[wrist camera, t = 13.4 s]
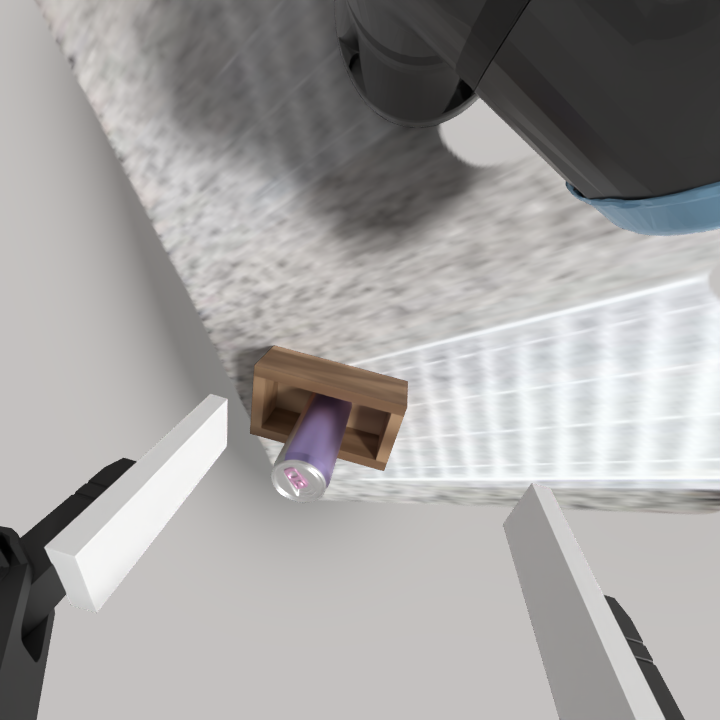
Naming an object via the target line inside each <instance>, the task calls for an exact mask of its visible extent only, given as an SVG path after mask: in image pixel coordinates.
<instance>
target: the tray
mask: <svg viewBox="0 0 720 720" xmlns="http://www.w3.org/2000/svg"><path fill="white" fill-rule="evenodd" d="M312 392H316V393H319V394H323V395H326V396H330V397H334V398H337V399H341V400H345V401H348V402H352V409H351V412H350V416H349V419H348V422H347V426H346V429H345V432H344V436H343V439H342V443H341V446H340V449H339V453H338V456H337V458H339V459H343V460H346V461H350V462H353V463H357V464H360V465H364V466H368V467H371V468H375V469H378V470H382V471H384V470H385V467H386V464H387V461H388V458H389V456H390V453H391V450H392V447H393V445H394V442H395V439H396V436H397V434H398V431H399V428H400V425H401V423H402V420H403V417H404V414H405V411H406V409H407V392H408V381H404V380H400V379H397V378H393V377H389V376H386V375H382V374H378V373H374V372H371V371H367V370H363V369H360V368H356V367H352V366H348V365H345V364H341V363H337V362H334V361H330V360H326V359H322V358H319V357H315V356H311V355H308V354H304V353H300V352H296V351H293V350H289V349H285V348H282V347H278V346H273V347H272V348H271V349H270V350H269V351H268V352H267V353H266V354H265V355H264V356H263V357H262V358H261V359H260V360H259V361H258V362H257V363H256V364H255V365H254V379H253V395H252V410H251V426H250V434H254V435H257V436H261V437H264V438H268V439H271V440H275V441H278V442H282V443H286V441H287V439H288V437H289V435H290V433H291V431H292V429H293V428H294V426H295V424H296V422H297V420H298V418H299V416H300V415H301V413H302V411H303V409H304V407H305V405H306V403H307V402H308V400H309V398H310V396H311V394H312Z"/></svg>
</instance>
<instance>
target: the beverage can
mask: <svg viewBox="0 0 720 720" xmlns="http://www.w3.org/2000/svg"><path fill="white" fill-rule="evenodd" d="M351 409H352V402H348V401H345V400H341V399H337V398H334V397H330V396H326V395H323V394H319V393H316V392H312V394H311V396H310V398H309V400H308V402H307V403H306V405H305V407H304V409H303V411H302V413H301V415H300V416H299V418H298V420H297V422H296V424H295V426H294V428H293V429H292V431H291V433H290V435H289V437H288V439H287V441H286V443H285V444H284V446H283V448H282V450H281V452H280V454H279V456H278V457H277V459H276V461H275V463H274V468H273V471H272V474H271V480H272V484H273V486H274V487H275V489H276V490H277V491H278V492H279V493H280V494H281V495H283V496H284V497H286V498H288V499H290V500H292V501H295V502H300V503H309V502H314V501H316V500H318V499H320V498H321V497H322V496H323V494H324V493H325V490H326V488H327V487H328V485H329V483H330V480H331V476H332V473H333V469H334V466H335V463H336V459H337V456H338V453H339V449H340V446H341V443H342V439H343V436H344V432H345V429H346V426H347V422H348V419H349V416H350V412H351Z"/></svg>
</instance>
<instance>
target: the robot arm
mask: <svg viewBox="0 0 720 720" xmlns="http://www.w3.org/2000/svg"><path fill="white" fill-rule="evenodd" d="M334 11H335V24H336V33H337V39H338V44H339V48H340V52H341V55H342V59H343V61H344V64H345V67H346V69H347V71H348V74H349V76H350V78H351V80H352V82H353V84H354V86H355V88H356V90H357V91H358V93H359V94H360V96H361V97H362V99H363V100H364V101H365V102H366V104H367V105H368V106H369V107H370V108H371V109H372V110H374V111H375V112H376V113H377V114H378V115H380V116H381V117H383V118H384V119H386V120H388V121H390V122H392V123H395V124H398V125H401V126H406V127H428V126H433V125H437V124H440V123H443V122H445V121H448V120H450V119H452V118H454V117H455V116H457V115H459V114H460V113H462V112H463V111H464V110H466V109H467V108H468V107H470V106H471V105H472V104H473V103H474V102H475V101H476V100H477V99H478V98H481V99H482V100H483V101H484V102H485V103H486V104H487V105H488V106H489V107H490V108H491V109H492V110H493V111H494V112H495V113H496V114H497V115H498V116H499V117H500V118H501V119H503V120H504V121H505V122H506V123H507V124H508V125H509V126H510V127H511V128H512V129H513V130H514V131H515V132H516V133H517V134H518V135H519V136H520V137H521V138H522V139H523V140H524V141H525V142H526V143H528V145H529V146H530V147H531V148H533V149H534V150H535V151H536V152H537V153H538V154H539V155H540V156H541V157H542V158H543V159H544V160H545V161H546V162H547V163H548V164H549V165H550V166H551V167H552V168H553V169H554V170H555V171H556V172H557V173H558V174H559V175H560V176H561V177H562V178H563V179H565V180H566V187H567V188H568V190H569V191H570V192H571V193H572V194H573V195H574V196H575V197H576V198H577V199H579V200H581V201H584V202H586V203H588V204H590V205H592V206H594V207H595V208H596V209H597V210H598V211H599V212H600V213H602V214H603V215H604V216H605V217H606V218H607V219H609V220H610V221H611V222H612V223H613V224H615V225H616V226H618V227H620V228H622V229H627V230H629V231H632V232H635V233H638V234H645V235H656V236H670V235H684V234H692V233H699V232H705V231H710V230H715V229H719V228H720V0H334ZM227 400H228V399H227V398H223V397H219V396H216V395H212V394H210V395H209V396H208V397H207V398H206V399H205V400H203V401H202V402H201V403H200V404H199V405H198V406H197V407H196V408H195V409H194V410H193V411H192V412H190V413H189V414H188V415H187V416H186V417H185V418H184V419H183V420H182V421H181V422H180V423H178V425H176V426H175V427H174V428H173V429H172V430H171V431H170V432H169V433H168V434H167V435H165V436H164V437H163V438H162V439H161V440H160V441H159V442H158V443H157V444H156V445H155V446H153V448H151V449H150V450H149V451H148V452H147V453H146V454H145V455H144V456H143V457H142V458H140V459H139V460H138V461H137V462H136V461H133V460H130V459H126V458H122V459H120V460H118V461H116V462H114V463H112V464H110V465H108V466H106V467H104V468H103V469H102V470H101V471H100V472H98V473H97V474H96V475H95V476H94V477H93V478H91V479H90V480H89V482H88V483H87V484H84V485H83V486H82V487H81V488H79V489H78V490H77V491H76V492H75V494H74V495H71V496H70V497H69V498H68V499H66V500H65V501H64V502H63V503H62V504H60V505H59V506H58V507H57V508H56V509H55V510H53V511H52V512H51V513H50V514H48V515H47V516H46V517H45V518H44V519H43V520H41V521H40V522H39V523H38V524H37V525H35V526H34V527H33V528H32V529H31V530H30V531H28V532H27V533H26V534H25V535H24V536H22V537H21V538H20V537H19V535H18V534H17V533H16V532H15V531H14V530H13V529H12V528H7V527H1V526H0V720H36V719H37V714H38V708H39V701H40V696H41V691H42V685H43V679H44V673H45V668H46V662H47V656H48V650H49V644H50V639H51V633H52V627H53V621H54V616H55V610H54V607H55V606H56V605H57V604H58V603H59V602H60V601H61V600H62V598H63V597H64V596H65V595H66V596H67V598H68V600H69V603H70V605H72V606H75V607H78V608H82V609H85V610H88V611H91V612H95V613H97V612H98V611H99V610H100V608H101V607H102V606H103V604H104V603H105V602H106V600H107V599H108V598H109V597H110V595H111V594H112V593H113V592H114V590H115V589H116V588H117V586H118V585H119V584H120V583H121V581H122V580H123V579H124V577H125V576H126V575H127V574H128V572H129V571H130V570H131V568H132V567H133V566H134V564H135V563H136V562H137V561H138V559H139V558H140V557H141V556H142V554H143V553H144V552H145V550H146V549H147V548H148V546H149V545H150V544H151V543H152V541H153V540H154V539H155V538H156V536H157V535H158V534H159V533H160V531H161V530H162V529H163V527H164V526H165V525H166V524H167V522H168V521H169V520H170V518H171V517H172V516H173V515H174V513H175V512H176V511H177V509H178V508H179V507H180V506H181V504H182V503H183V502H184V500H185V499H186V498H187V496H188V495H189V494H190V493H191V491H192V490H193V489H194V488H195V486H196V485H197V484H198V482H199V481H200V480H201V479H202V477H203V476H204V475H205V473H206V472H207V471H208V470H209V468H210V467H211V466H212V464H213V463H214V462H215V461H216V459H217V458H218V457H219V455H220V454H221V453H222V452H223V450H224V449H225V448H226V446H227V402H228V401H227ZM503 526H504V530H505V533H506V536H507V540H508V544H509V547H510V550H511V554H512V557H513V561H514V564H515V568H516V571H517V574H518V578H519V581H520V584H521V588H522V592H523V595H524V599H525V602H526V605H527V609H528V612H529V616H530V619H531V623H532V626H533V630H534V633H535V636H536V640H537V643H538V647H539V650H540V653H541V657H542V661H543V664H544V667H545V671H546V674H547V678H548V681H549V685H550V688H551V692H552V695H553V699H554V702H555V705H556V709H557V712H558V715H559V719H560V720H685V719H684V717H683V715H682V714H681V712H680V710H679V708H678V706H677V704H676V702H675V700H674V699H673V697H672V695H671V693H670V691H669V689H668V687H667V686H666V684H665V682H664V680H663V678H662V676H661V674H660V672H659V671H658V669H657V667H656V666H655V665H654V664H653V659H652V658H651V656H650V654H649V652H648V650H647V648H646V646H644V645H643V641H642V639H641V637H640V635H639V633H638V631H637V630H636V628H635V626H634V624H633V622H632V620H631V619H630V617H629V616H628V615H627V614H626V612H625V611H624V610H623V608H622V607H621V606H620V605H619V603H618V602H617V601H616V600H615V598H612V597H609V596H605V595H603V593H602V591H601V589H600V587H599V585H598V583H597V581H596V579H595V577H594V575H593V573H592V571H591V569H590V567H589V565H588V563H587V561H586V559H585V557H584V555H583V553H582V551H581V549H580V547H579V545H578V543H577V541H576V539H575V537H574V535H573V533H572V531H571V529H570V527H569V525H568V523H567V521H566V519H565V517H564V515H563V513H562V511H561V509H560V507H559V505H558V503H557V501H556V499H555V497H554V495H553V493H552V491H551V489H550V488H548V487H544V486H541V485H537V484H533V483H532V484H531V485H530V486H529V488H528V489H527V491H526V492H525V494H524V495H523V496H522V498H521V499H520V501H519V502H518V503H517V505H516V506H515V508H514V509H513V511H512V512H511V513H510V515H509V516H508V518H507V519H506V521H505V522H504V524H503Z"/></svg>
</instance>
